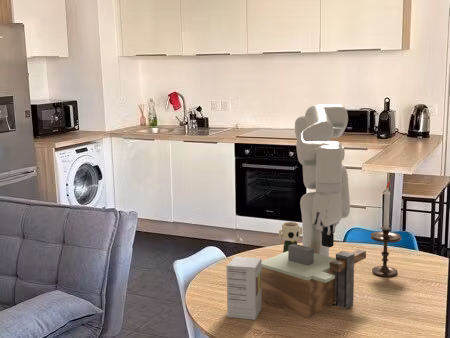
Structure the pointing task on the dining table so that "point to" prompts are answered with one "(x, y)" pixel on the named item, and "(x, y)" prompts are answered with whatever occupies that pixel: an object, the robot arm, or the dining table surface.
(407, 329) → the dining table surface
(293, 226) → the character mug
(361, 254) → the brown wooden bar
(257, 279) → the supplement box
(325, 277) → the lid
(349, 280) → the brown wooden box
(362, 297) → the dining table surface
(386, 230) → the candlestick
